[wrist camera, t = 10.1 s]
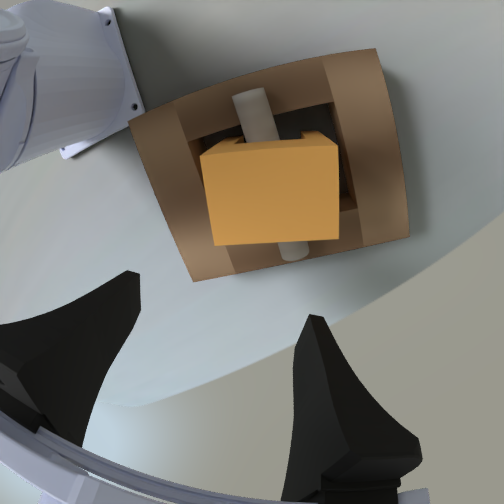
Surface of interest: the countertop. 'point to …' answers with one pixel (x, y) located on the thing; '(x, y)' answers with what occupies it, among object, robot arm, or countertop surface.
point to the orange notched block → (272, 190)
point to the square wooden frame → (264, 129)
